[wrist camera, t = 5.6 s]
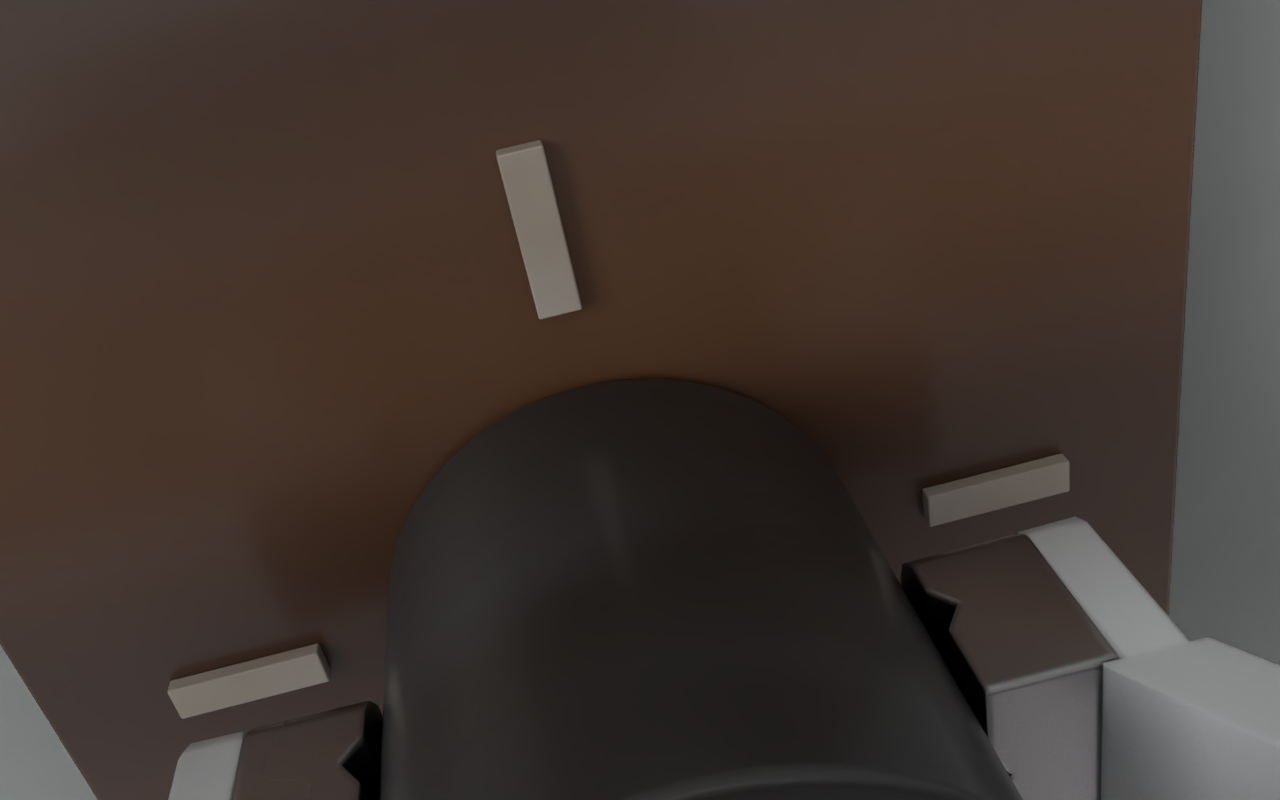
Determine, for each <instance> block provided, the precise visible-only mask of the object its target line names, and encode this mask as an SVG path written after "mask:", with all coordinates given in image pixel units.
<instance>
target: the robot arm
mask: <svg viewBox="0 0 1280 800" xmlns="http://www.w3.org/2000/svg"><path fill="white" fill-rule="evenodd" d="M900 579H901V586H902V588H903V589H904V591H905V593H906V595H907V596H908V598H909V600H910V602H911V604H912V605H913V607H914V609H915V611H916V612H917V614H918V616H919V618H920V619H921V621H922V623H923V625H924V626H925V628H926V630H927V632H928V633H929V635H930V637H931V639H932V640H933V642H934V644H935V646H936V648H937V649H938V651H939V653H940V655H941V656H942V658H943V660H944V662H945V663H946V665H947V667H948V669H949V670H950V672H951V674H952V676H953V677H954V679H955V681H956V683H957V684H958V686H959V688H960V690H961V692H962V693H963V695H964V697H965V699H966V700H967V702H968V704H969V706H970V707H971V709H972V711H973V713H974V714H975V716H976V718H977V720H978V721H979V723H980V725H981V727H982V728H983V730H984V732H985V734H986V735H987V737H988V739H989V741H990V743H991V744H992V746H993V748H994V750H995V751H996V753H997V755H998V757H999V758H1000V760H1001V762H1002V764H1003V765H1004V767H1005V769H1006V771H1007V772H1008V774H1009V776H1010V778H1011V779H1012V781H1013V783H1014V785H1015V787H1016V788H1017V790H1018V792H1019V794H1020V795H1021V797H1022V799H1023V800H1280V665H1278V664H1275V663H1273V662H1270V661H1268V660H1265V659H1263V658H1260V657H1258V656H1255V655H1253V654H1250V653H1248V652H1245V651H1243V650H1240V649H1238V648H1235V647H1233V646H1230V645H1228V644H1225V643H1223V642H1220V641H1218V640H1215V639H1213V638H1210V637H1205V638H1201V639H1197V640H1193V641H1190V640H1189V639H1188V638H1187V637H1186V636H1185V635H1184V634H1183V632H1182V631H1181V630H1180V629H1179V628H1178V627H1177V625H1176V624H1175V623H1174V622H1173V621H1172V620H1171V618H1170V617H1169V616H1168V615H1167V614H1166V613H1165V612H1164V610H1163V609H1162V608H1161V607H1160V606H1159V605H1158V603H1157V602H1156V601H1155V600H1154V599H1153V598H1152V596H1151V595H1150V594H1149V593H1148V592H1147V591H1146V589H1145V588H1144V587H1143V586H1142V585H1141V584H1140V583H1139V581H1138V580H1137V579H1136V578H1135V577H1134V576H1133V574H1132V573H1131V572H1130V571H1129V570H1128V569H1127V567H1126V566H1125V565H1124V564H1123V563H1122V562H1121V561H1120V559H1119V558H1118V557H1117V556H1116V555H1115V554H1114V552H1113V551H1112V550H1111V549H1110V548H1109V547H1108V545H1107V544H1106V543H1105V542H1104V541H1103V540H1102V539H1101V537H1100V536H1099V535H1098V534H1097V533H1096V532H1095V530H1094V529H1093V528H1092V527H1091V526H1090V525H1089V523H1088V522H1087V521H1085V520H1082V519H1080V518H1078V517H1076V516H1075V517H1071V518H1067V519H1064V520H1060V521H1057V522H1053V523H1049V524H1046V525H1042V526H1039V527H1035V528H1031V529H1028V530H1024V531H1021V532H1018V534H1017V535H1010V536H1006V537H1002V538H998V539H995V540H991V541H987V542H983V543H979V544H976V545H972V546H968V547H964V548H961V549H957V550H953V551H949V552H945V553H942V554H938V555H934V556H930V557H927V558H923V559H919V560H915V561H911V562H908V563H904V564H902V570H901V577H900ZM382 727H383V715H382V713H381V711H380V709H379V706H378V705H377V704H375V703H373V702H371V701H366V702H362V703H358V704H353V705H349V706H345V707H340V708H336V709H332V710H327V711H323V712H319V713H315V714H310V715H306V716H302V717H297V718H293V719H289V720H284V721H280V722H276V723H272V724H267V725H263V726H259V727H254V728H251V730H249V731H242V732H238V733H234V734H230V735H225V736H221V737H217V738H212V739H208V740H204V741H199V742H195V743H191V744H190V745H189V746H188V747H187V748H186V750H185V751H184V752H183V753H182V755H181V756H180V758H179V760H178V763H177V767H176V771H175V775H174V779H173V783H172V787H171V791H170V795H169V799H168V800H379V798H380V775H381V751H382Z"/></svg>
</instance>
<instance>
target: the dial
mask: <svg viewBox="0 0 1280 800" xmlns="http://www.w3.org/2000/svg"><path fill="white" fill-rule="evenodd" d="M379 800H1023V799H1022V797H1021V795H1020V794H1019V792H1018V790H1017V788H1016V787H1015V785H1014V783H1013V781H1012V779H1011V778H1010V776H1009V774H1008V772H1007V771H1006V769H1005V767H1004V765H1003V764H1002V762H1001V760H1000V758H999V757H998V755H997V753H996V751H995V750H994V748H993V746H992V744H991V743H990V741H989V739H988V737H987V735H986V734H985V732H984V730H983V728H982V727H981V725H980V723H979V721H978V720H977V718H976V716H975V714H974V713H973V711H972V709H971V707H970V706H969V704H968V702H967V700H966V699H965V697H964V695H963V693H962V692H961V690H960V688H959V686H958V684H957V683H956V681H955V679H954V677H953V676H952V674H951V672H950V670H949V669H948V667H947V665H946V663H945V662H944V660H943V658H942V656H941V655H940V653H939V651H938V649H937V648H936V646H935V644H934V642H933V640H932V639H931V637H930V635H929V633H928V632H927V630H926V628H925V626H924V625H923V623H922V621H921V619H920V618H919V616H918V614H917V612H916V611H915V609H914V607H913V605H912V604H911V602H910V600H909V598H908V596H907V595H906V593H905V591H904V589H903V588H902V586H901V584H900V582H899V581H898V579H897V577H896V575H895V574H894V572H893V570H892V568H891V567H890V565H889V563H888V561H887V560H886V558H885V556H884V554H883V553H882V551H881V549H880V547H879V545H878V544H877V542H876V540H875V538H874V537H873V535H872V533H871V531H870V530H869V528H868V526H867V524H866V523H865V521H864V519H863V517H862V516H861V514H860V512H859V510H858V509H857V507H856V505H855V503H854V501H853V500H852V498H851V496H850V494H849V493H848V491H847V489H846V487H845V486H844V484H843V482H842V480H841V479H840V477H839V475H838V473H837V472H836V470H835V468H834V467H833V466H832V464H831V463H830V462H829V460H828V459H827V457H826V456H825V455H824V453H823V452H822V451H821V449H820V448H819V447H818V446H817V445H816V444H815V443H814V442H813V441H812V440H811V439H810V438H809V437H808V436H807V435H806V434H805V433H804V432H803V431H802V430H800V429H799V428H798V427H796V426H795V425H794V424H792V423H791V422H789V421H788V420H787V419H785V418H784V417H782V416H781V415H780V414H778V413H776V412H775V411H773V410H771V409H769V408H767V407H765V406H763V405H761V404H759V403H757V402H755V401H753V400H751V399H749V398H746V397H743V396H740V395H737V394H735V393H732V392H729V391H726V390H723V389H720V388H716V387H711V386H707V385H702V384H697V383H693V382H686V381H675V380H664V379H635V380H620V381H613V382H606V383H599V384H592V385H588V386H584V387H580V388H576V389H573V390H569V391H565V392H561V393H558V394H555V395H553V396H550V397H548V398H545V399H543V400H540V401H537V402H535V403H532V404H530V405H527V406H525V407H523V408H522V409H520V410H518V411H516V412H514V413H512V414H510V415H508V416H507V417H505V418H503V419H501V420H499V421H497V422H496V423H495V424H493V425H492V426H490V427H489V428H487V429H486V430H484V431H483V432H482V433H480V434H479V435H477V436H476V437H474V438H473V439H472V440H470V441H469V442H468V443H467V444H466V445H465V446H464V447H463V448H462V449H460V450H459V451H458V452H457V453H456V454H455V455H454V456H453V457H452V458H450V459H449V460H448V461H447V462H446V463H445V464H444V466H443V467H442V468H441V469H440V470H439V471H438V473H437V474H436V475H435V476H434V477H433V478H432V480H431V481H430V482H429V483H428V484H427V486H426V487H425V488H424V490H423V491H422V493H421V495H420V496H419V498H418V499H417V501H416V502H415V504H414V506H413V507H412V509H411V510H410V512H409V514H408V516H407V519H406V521H405V523H404V525H403V528H402V530H401V532H400V534H399V537H398V540H397V543H396V547H395V551H394V554H393V558H392V562H391V568H390V578H389V587H388V608H387V631H386V655H385V679H384V703H383V727H382V751H381V775H380V798H379Z"/></svg>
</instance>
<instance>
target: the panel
mask: <svg viewBox="0 0 1280 800" xmlns="http://www.w3.org/2000/svg"><path fill="white" fill-rule="evenodd" d="M1201 13H1202V0H0V644H1V646H2V648H3V649H4V651H5V652H6V654H7V656H8V657H9V659H10V660H11V662H12V664H13V665H14V667H15V668H16V670H17V671H18V673H19V675H20V676H21V678H22V679H23V681H24V683H25V684H26V686H27V687H28V689H29V691H30V692H31V694H32V695H33V697H34V699H35V700H36V702H37V703H38V705H39V707H40V708H41V710H42V711H43V713H44V714H45V716H46V718H47V719H48V721H49V722H50V724H51V726H52V727H53V729H54V730H55V732H56V734H57V735H58V737H59V738H60V740H61V742H62V743H63V745H64V746H65V748H66V750H67V751H68V753H69V754H70V756H71V758H72V759H73V761H74V762H75V764H76V765H77V767H78V769H79V770H80V772H81V773H82V775H83V777H84V778H85V780H86V781H87V783H88V785H89V786H90V788H91V789H92V791H93V793H94V794H95V796H96V797H97V799H98V800H168V799H169V795H170V791H171V787H172V783H173V779H174V775H175V771H176V767H177V763H178V760H179V758H180V756H181V755H182V753H183V752H184V751H185V750H186V748H187V747H188V746H189V745H190V744H191V743H195V742H199V741H204V740H208V739H212V738H217V737H221V736H225V735H230V734H234V733H238V732H242V731H249V730H251V728H254V727H259V726H263V725H267V724H272V723H276V722H280V721H284V720H289V719H293V718H297V717H302V716H306V715H310V714H315V713H319V712H323V711H327V710H332V709H336V708H340V707H345V706H349V705H353V704H358V703H362V702H366V701H371V702H373V703H375V704H377V705H378V706H379V709H380V711H381V713H382V715H383V703H384V679H385V655H386V631H387V608H388V587H389V578H390V568H391V562H392V558H393V554H394V551H395V547H396V543H397V540H398V537H399V534H400V532H401V530H402V528H403V525H404V523H405V521H406V519H407V516H408V514H409V512H410V510H411V509H412V507H413V506H414V504H415V502H416V501H417V499H418V498H419V496H420V495H421V493H422V491H423V490H424V488H425V487H426V486H427V484H428V483H429V482H430V481H431V480H432V478H433V477H434V476H435V475H436V474H437V473H438V471H439V470H440V469H441V468H442V467H443V466H444V464H445V463H446V462H447V461H448V460H449V459H450V458H452V457H453V456H454V455H455V454H456V453H457V452H458V451H459V450H460V449H462V448H463V447H464V446H465V445H466V444H467V443H468V442H469V441H470V440H472V439H473V438H474V437H476V436H477V435H479V434H480V433H482V432H483V431H484V430H486V429H487V428H489V427H490V426H492V425H493V424H495V423H496V422H497V421H499V420H501V419H503V418H505V417H507V416H508V415H510V414H512V413H514V412H516V411H518V410H520V409H522V408H523V407H525V406H527V405H530V404H532V403H535V402H537V401H540V400H543V399H545V398H548V397H550V396H553V395H555V394H558V393H561V392H565V391H569V390H573V389H576V388H580V387H584V386H588V385H592V384H599V383H606V382H613V381H620V380H635V379H664V380H675V381H686V382H693V383H697V384H702V385H707V386H711V387H716V388H720V389H723V390H726V391H729V392H732V393H735V394H737V395H740V396H743V397H746V398H749V399H751V400H753V401H755V402H757V403H759V404H761V405H763V406H765V407H767V408H769V409H771V410H773V411H775V412H776V413H778V414H780V415H781V416H782V417H784V418H785V419H787V420H788V421H789V422H791V423H792V424H794V425H795V426H796V427H798V428H799V429H800V430H802V431H803V432H804V433H805V434H806V435H807V436H808V437H809V438H810V439H811V440H812V441H813V442H814V443H815V444H816V445H817V446H818V447H819V448H820V449H821V451H822V452H823V453H824V455H825V456H826V457H827V459H828V460H829V462H830V463H831V464H832V466H833V467H834V468H835V470H836V472H837V473H838V475H839V477H840V479H841V480H842V482H843V484H844V486H845V487H846V489H847V491H848V493H849V494H850V496H851V498H852V500H853V501H854V503H855V505H856V507H857V509H858V510H859V512H860V514H861V516H862V517H863V519H864V521H865V523H866V524H867V526H868V528H869V530H870V531H871V533H872V535H873V537H874V538H875V540H876V542H877V544H878V545H879V547H880V549H881V551H882V553H883V554H884V556H885V558H886V560H887V561H888V563H889V565H890V567H891V568H892V570H893V572H894V574H895V575H896V577H897V579H898V581H899V582H900V584H901V579H900V577H901V570H902V564H904V563H908V562H911V561H915V560H919V559H923V558H927V557H930V556H934V555H938V554H942V553H945V552H949V551H953V550H957V549H961V548H964V547H968V546H972V545H976V544H979V543H983V542H987V541H991V540H995V539H998V538H1002V537H1006V536H1010V535H1017V534H1018V532H1021V531H1024V530H1028V529H1031V528H1035V527H1039V526H1042V525H1046V524H1049V523H1053V522H1057V521H1060V520H1064V519H1067V518H1071V517H1075V516H1076V517H1078V518H1080V519H1082V520H1085V521H1087V522H1088V523H1089V525H1090V526H1091V527H1092V528H1093V529H1094V530H1095V532H1096V533H1097V534H1098V535H1099V536H1100V537H1101V539H1102V540H1103V541H1104V542H1105V543H1106V544H1107V545H1108V547H1109V548H1110V549H1111V550H1112V551H1113V552H1114V554H1115V555H1116V556H1117V557H1118V558H1119V559H1120V561H1121V562H1122V563H1123V564H1124V565H1125V566H1126V567H1127V569H1128V570H1129V571H1130V572H1131V573H1132V574H1133V576H1134V577H1135V578H1136V579H1137V580H1138V581H1139V583H1140V584H1141V585H1142V586H1143V587H1144V588H1145V589H1146V591H1147V592H1148V593H1149V594H1150V595H1151V596H1152V598H1153V599H1154V600H1155V601H1156V602H1157V603H1158V605H1159V606H1160V607H1161V608H1162V609H1163V610H1164V612H1165V613H1166V614H1167V615H1168V616H1169V597H1170V579H1171V561H1172V543H1173V524H1174V506H1175V488H1176V470H1177V451H1178V433H1179V415H1180V397H1181V378H1182V360H1183V342H1184V324H1185V305H1186V287H1187V269H1188V251H1189V232H1190V214H1191V196H1192V178H1193V159H1194V141H1195V123H1196V105H1197V86H1198V68H1199V50H1200V32H1201Z"/></svg>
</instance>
